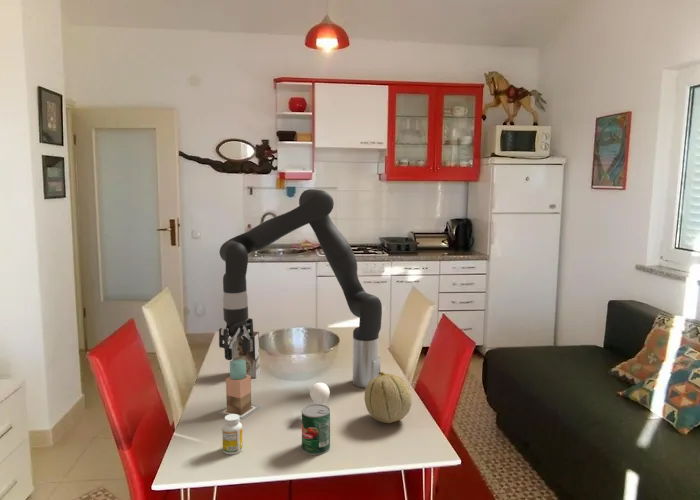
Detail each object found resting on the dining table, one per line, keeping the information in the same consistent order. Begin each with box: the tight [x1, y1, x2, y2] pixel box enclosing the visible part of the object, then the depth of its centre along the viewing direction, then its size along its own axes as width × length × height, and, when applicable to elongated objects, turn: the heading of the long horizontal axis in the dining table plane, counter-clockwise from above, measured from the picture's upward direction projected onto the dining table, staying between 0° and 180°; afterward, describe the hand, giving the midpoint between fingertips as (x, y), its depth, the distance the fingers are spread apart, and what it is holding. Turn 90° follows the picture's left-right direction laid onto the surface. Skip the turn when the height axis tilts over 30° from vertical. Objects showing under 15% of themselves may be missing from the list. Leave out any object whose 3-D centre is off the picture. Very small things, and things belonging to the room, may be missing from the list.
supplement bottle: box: [221, 414, 244, 456], centre depth 143 cm, size 5×5×10 cm
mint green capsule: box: [229, 359, 246, 380], centre depth 165 cm, size 5×5×5 cm
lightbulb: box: [309, 382, 331, 406], centre depth 163 cm, size 6×6×11 cm
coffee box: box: [232, 331, 261, 379], centre depth 197 cm, size 9×6×16 cm
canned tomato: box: [300, 403, 331, 456], centre depth 144 cm, size 8×8×11 cm
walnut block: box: [225, 391, 252, 415], centre depth 167 cm, size 6×6×6 cm
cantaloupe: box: [364, 371, 413, 424], centre depth 160 cm, size 15×15×15 cm
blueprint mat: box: [216, 404, 261, 420], centre depth 167 cm, size 10×10×1 cm
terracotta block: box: [225, 375, 252, 398], centre depth 166 cm, size 6×6×6 cm
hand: (237, 355), depth 164 cm, fingers open, 8 cm apart
